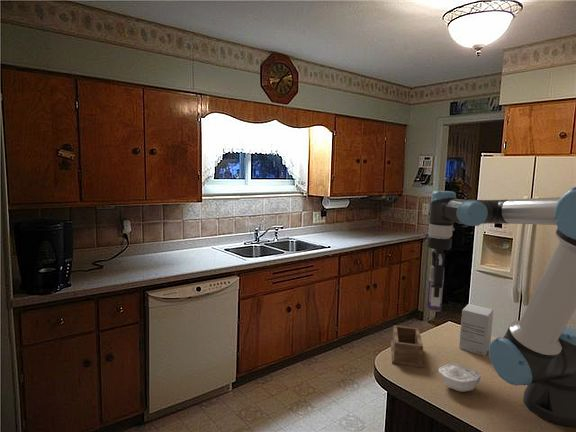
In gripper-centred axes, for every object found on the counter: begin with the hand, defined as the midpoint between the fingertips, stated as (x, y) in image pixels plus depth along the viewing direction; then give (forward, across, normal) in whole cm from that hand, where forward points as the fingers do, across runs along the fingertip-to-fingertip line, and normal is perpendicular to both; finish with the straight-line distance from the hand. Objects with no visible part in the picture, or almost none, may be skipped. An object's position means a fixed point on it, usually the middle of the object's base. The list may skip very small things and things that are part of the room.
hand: (434, 302), depth 131 cm
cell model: (+19, -19, -6) cm, 28 cm away
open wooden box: (+19, -2, +8) cm, 21 cm away
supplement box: (+19, +11, -16) cm, 28 cm away
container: (+2, 0, 0) cm, 2 cm away
